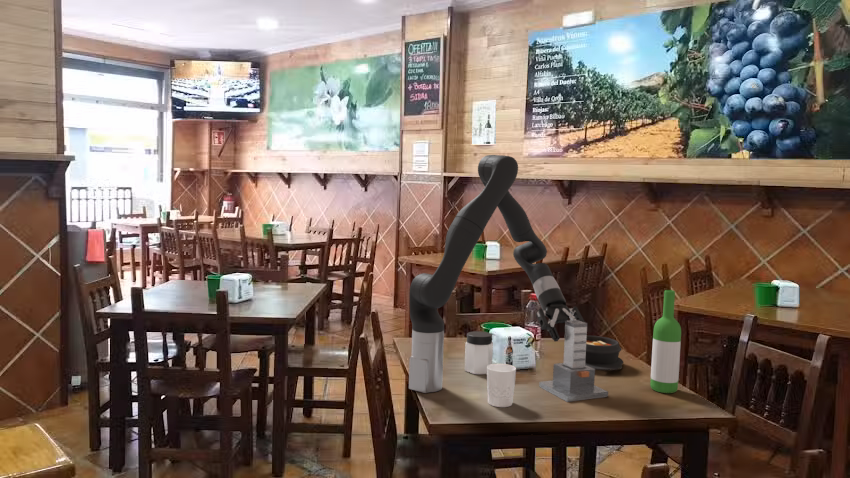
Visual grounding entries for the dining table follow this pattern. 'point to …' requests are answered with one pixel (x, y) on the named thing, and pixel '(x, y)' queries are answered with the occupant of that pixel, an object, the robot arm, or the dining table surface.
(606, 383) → the dining table surface
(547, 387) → the stand base
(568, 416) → the dining table surface
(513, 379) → the white cup
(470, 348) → the jar
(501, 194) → the robot arm
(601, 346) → the casserole
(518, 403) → the dining table surface
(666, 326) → the wine bottle
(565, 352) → the column
